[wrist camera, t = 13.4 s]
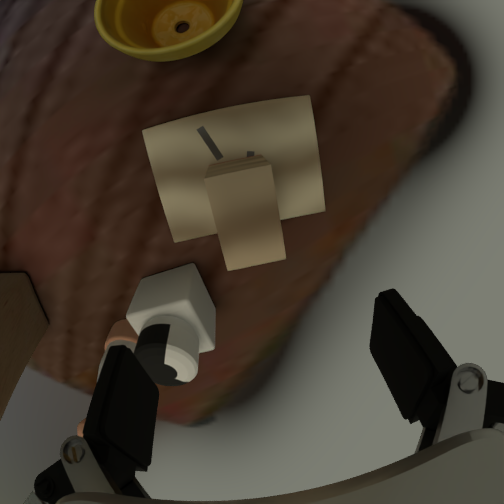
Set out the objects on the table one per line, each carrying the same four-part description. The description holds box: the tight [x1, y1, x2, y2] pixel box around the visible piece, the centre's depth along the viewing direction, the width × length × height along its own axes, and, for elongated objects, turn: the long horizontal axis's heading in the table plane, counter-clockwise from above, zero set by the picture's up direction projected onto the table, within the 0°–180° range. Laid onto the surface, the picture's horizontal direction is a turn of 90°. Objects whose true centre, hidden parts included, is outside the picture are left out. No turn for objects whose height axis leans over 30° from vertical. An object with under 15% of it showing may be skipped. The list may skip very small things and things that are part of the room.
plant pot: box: [94, 0, 243, 62], centre depth 15 cm, size 10×10×10 cm
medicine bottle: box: [126, 263, 216, 386], centre depth 27 cm, size 7×7×12 cm
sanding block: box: [204, 155, 286, 271], centre depth 24 cm, size 8×5×6 cm, turn 11°
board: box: [142, 95, 325, 243], centre depth 26 cm, size 12×16×1 cm
